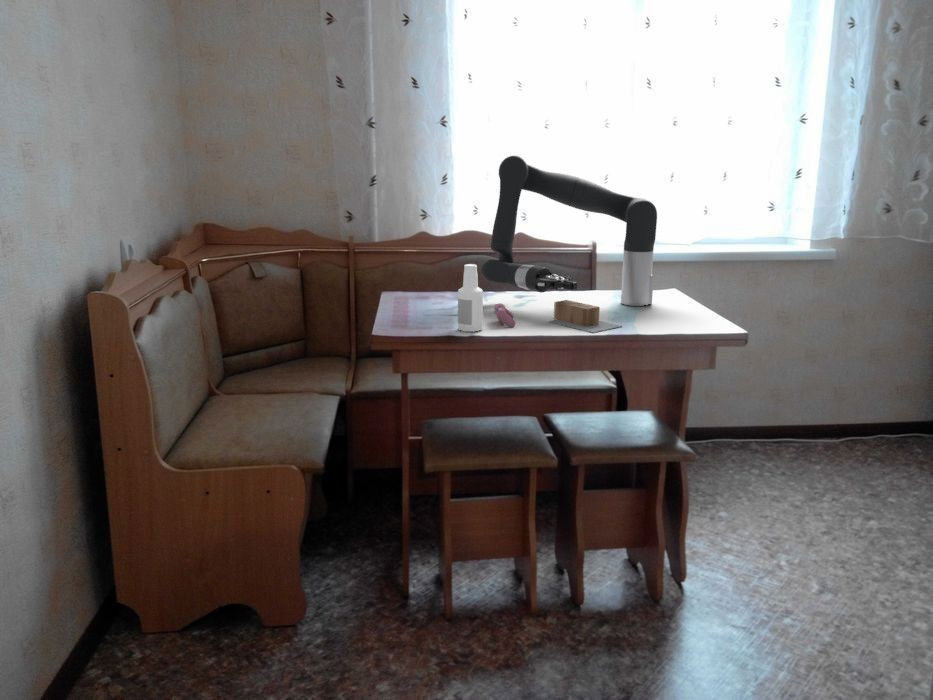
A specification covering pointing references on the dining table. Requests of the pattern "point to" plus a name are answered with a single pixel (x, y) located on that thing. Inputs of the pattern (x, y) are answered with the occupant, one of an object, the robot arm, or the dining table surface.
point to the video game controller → (504, 315)
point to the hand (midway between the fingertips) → (575, 286)
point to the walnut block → (576, 313)
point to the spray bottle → (470, 301)
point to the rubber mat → (593, 328)
